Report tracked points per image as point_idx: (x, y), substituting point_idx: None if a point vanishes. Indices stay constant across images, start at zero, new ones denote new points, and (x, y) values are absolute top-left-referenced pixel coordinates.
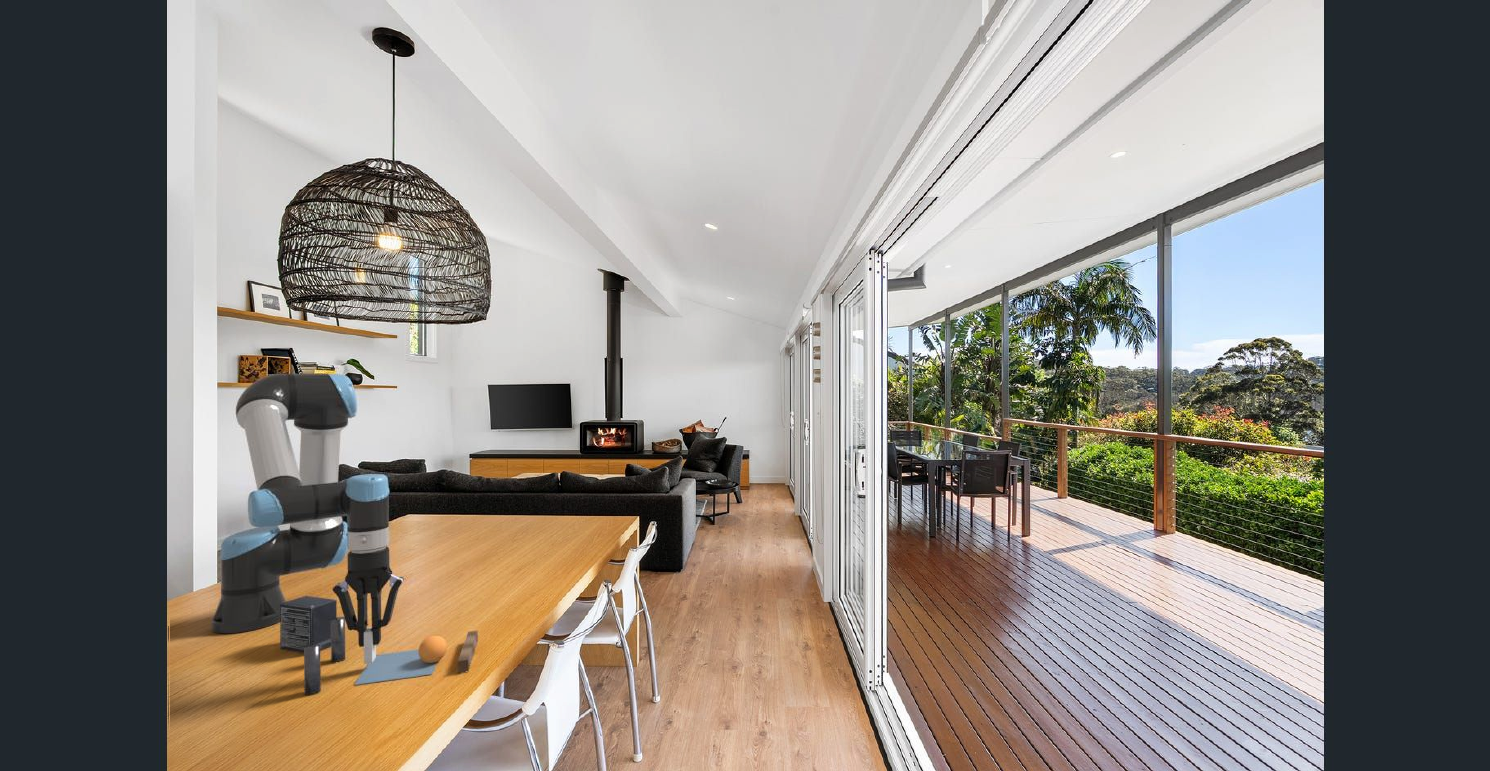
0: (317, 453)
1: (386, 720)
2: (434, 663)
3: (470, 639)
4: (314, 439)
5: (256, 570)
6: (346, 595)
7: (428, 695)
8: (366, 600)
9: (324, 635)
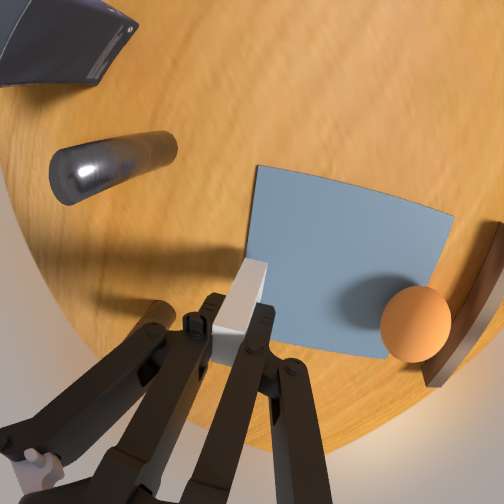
0: None
1: None
2: None
3: (498, 296)
4: None
5: None
6: (71, 450)
7: (356, 407)
8: (161, 449)
9: (90, 51)
